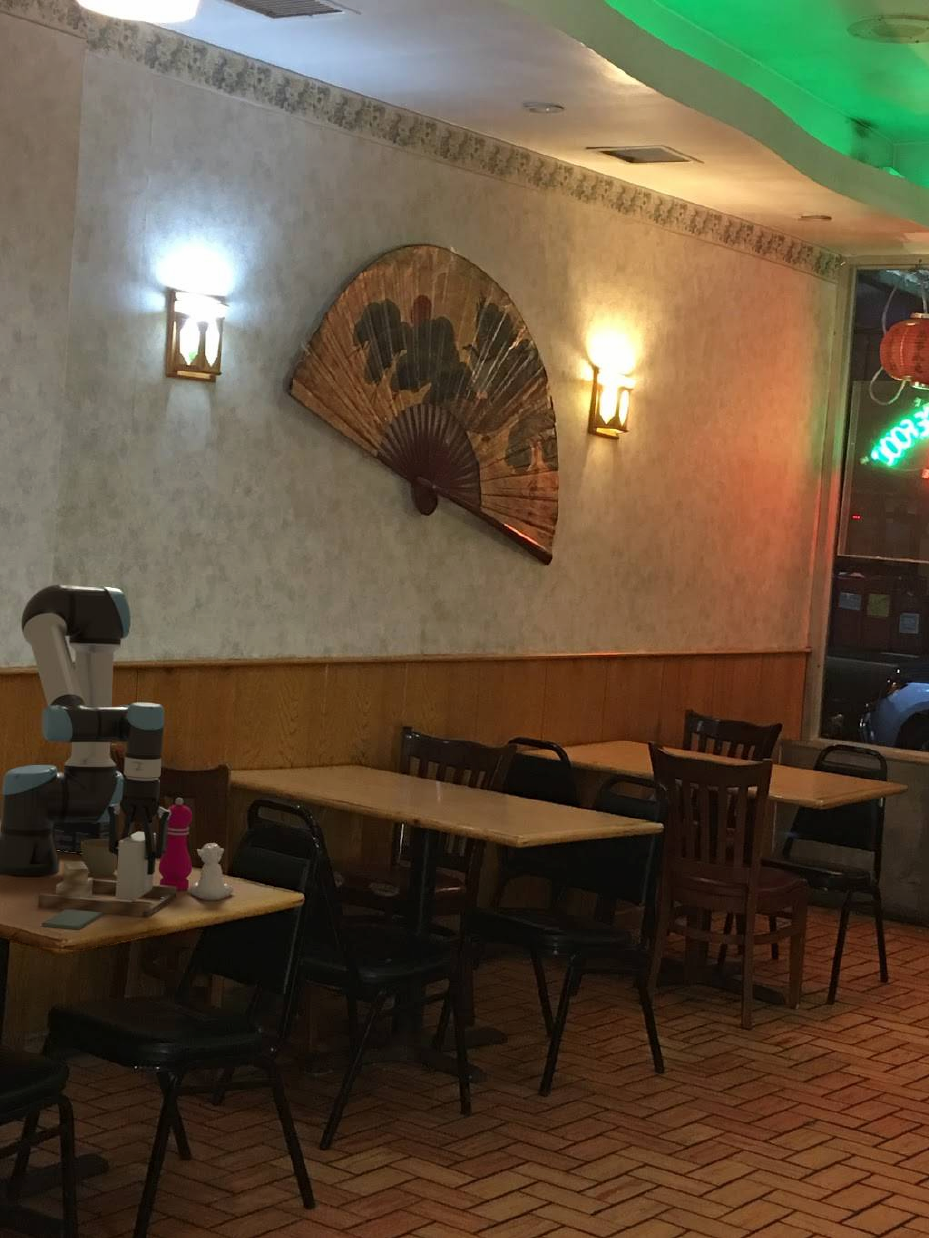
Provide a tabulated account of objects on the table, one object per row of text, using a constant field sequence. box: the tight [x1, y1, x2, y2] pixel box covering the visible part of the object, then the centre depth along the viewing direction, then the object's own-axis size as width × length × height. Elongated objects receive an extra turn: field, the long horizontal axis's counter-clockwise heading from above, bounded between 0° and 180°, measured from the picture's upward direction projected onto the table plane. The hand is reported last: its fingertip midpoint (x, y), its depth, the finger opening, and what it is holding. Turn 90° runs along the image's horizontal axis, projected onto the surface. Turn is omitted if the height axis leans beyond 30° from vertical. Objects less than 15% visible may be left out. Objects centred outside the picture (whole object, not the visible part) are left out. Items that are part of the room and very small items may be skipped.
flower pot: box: [81, 839, 120, 878], centre depth 374 cm, size 10×10×7 cm
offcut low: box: [55, 877, 94, 898], centre depth 347 cm, size 5×10×4 cm, turn 178°
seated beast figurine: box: [189, 842, 234, 901], centre depth 358 cm, size 10×9×12 cm
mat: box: [41, 909, 104, 930], centre depth 328 cm, size 8×14×1 cm, turn 173°
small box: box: [53, 821, 110, 853], centre depth 399 cm, size 13×7×12 cm, turn 72°
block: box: [114, 831, 157, 902], centre depth 346 cm, size 4×12×12 cm, turn 173°
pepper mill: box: [158, 797, 193, 891], centre depth 365 cm, size 7×7×20 cm
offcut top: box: [62, 860, 89, 886], centre depth 347 cm, size 4×8×4 cm, turn 21°
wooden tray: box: [37, 878, 178, 918], centre depth 346 cm, size 23×20×2 cm
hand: (134, 888), depth 346 cm, fingers closed on block, 4 cm apart
